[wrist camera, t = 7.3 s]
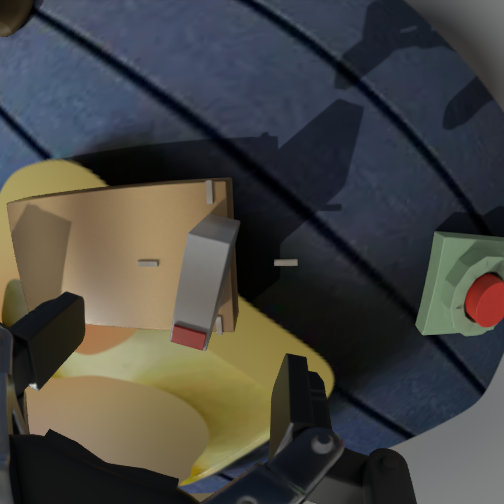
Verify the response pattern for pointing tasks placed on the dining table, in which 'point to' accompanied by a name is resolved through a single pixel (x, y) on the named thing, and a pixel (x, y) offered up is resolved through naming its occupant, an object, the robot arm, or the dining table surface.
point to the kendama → (13, 15)
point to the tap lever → (203, 280)
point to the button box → (457, 281)
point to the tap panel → (119, 248)
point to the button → (486, 300)
